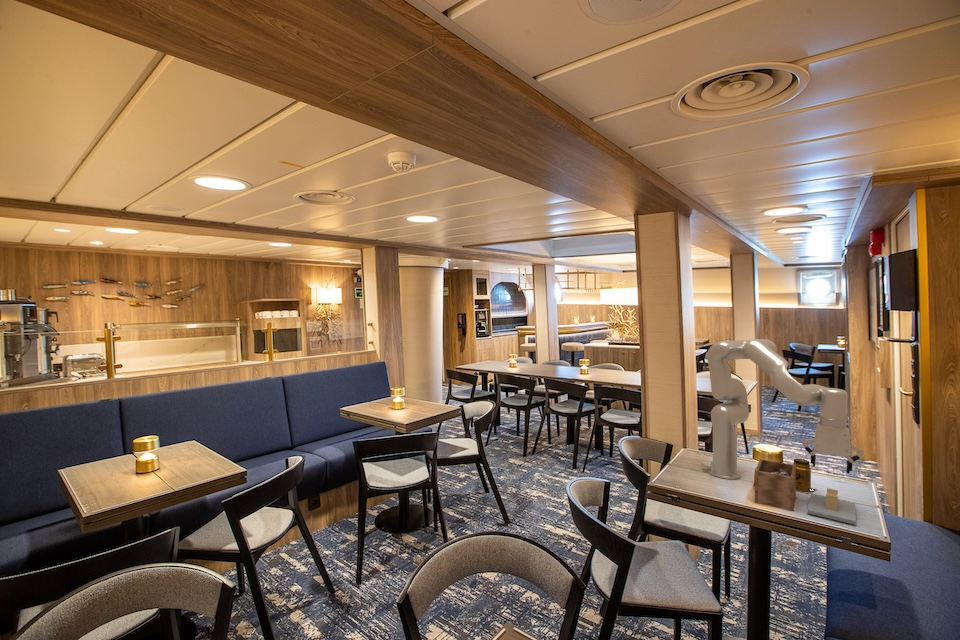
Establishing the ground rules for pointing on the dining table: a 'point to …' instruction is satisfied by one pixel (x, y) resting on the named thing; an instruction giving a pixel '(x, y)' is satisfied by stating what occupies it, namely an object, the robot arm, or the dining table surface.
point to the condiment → (803, 476)
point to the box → (775, 485)
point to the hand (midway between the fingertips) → (830, 469)
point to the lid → (832, 507)
